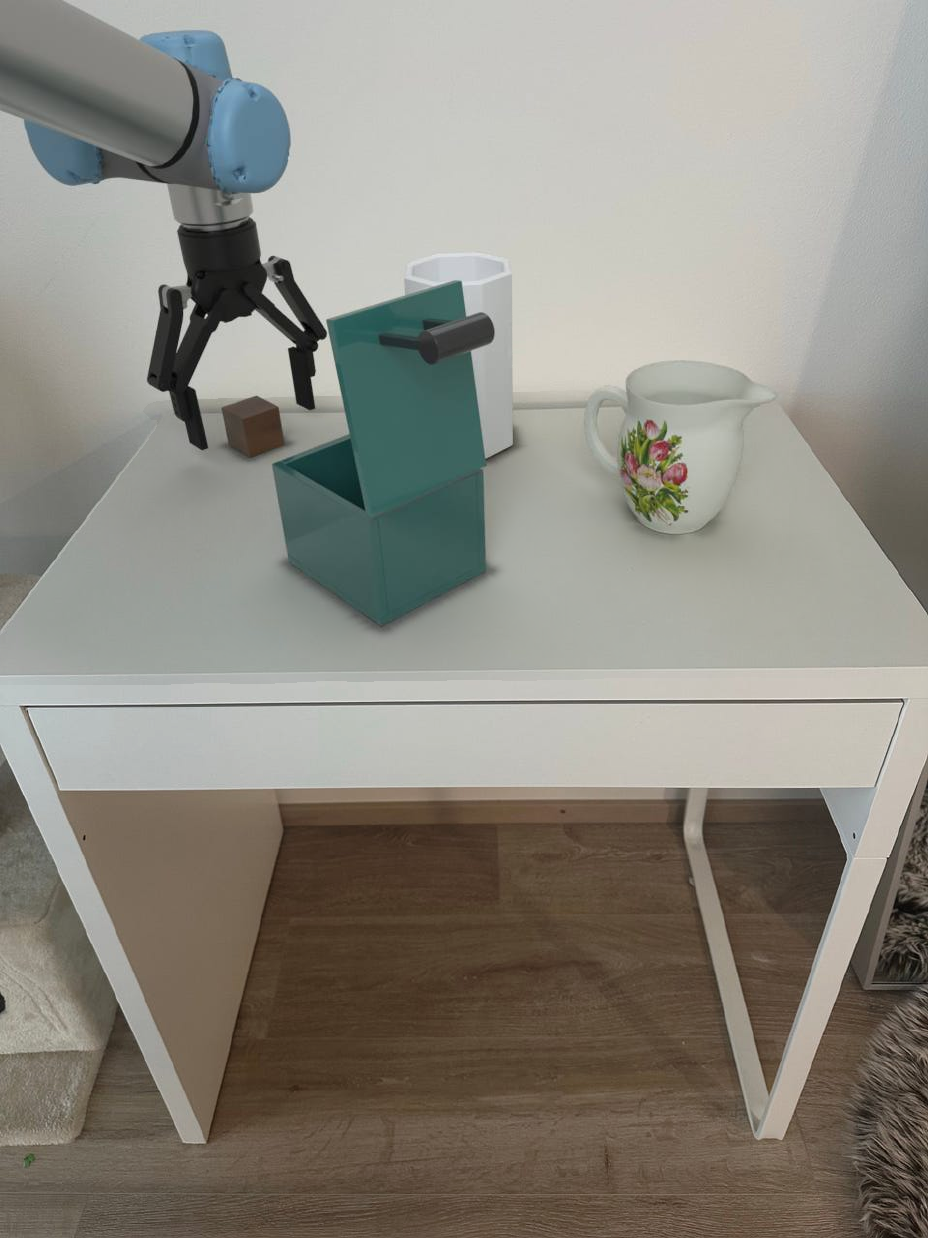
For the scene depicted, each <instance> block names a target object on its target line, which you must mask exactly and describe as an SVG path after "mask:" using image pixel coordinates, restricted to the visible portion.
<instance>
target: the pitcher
mask: <svg viewBox="0 0 928 1238" xmlns="http://www.w3.org/2000/svg"><path fill="white" fill-rule="evenodd" d="M625 390H626V391H625ZM625 390H623V389H622V388H620V387H617V386H615V385H610V384H609V385H604V386H601V387H599V388H597V389H596V390H595V391H594V392H592V393H591V395H590V397H589V398H588V400H587V403H586V405H585V410H584V415H583V418H584V420H583V429H584V436H585V441H586V444H587V446H588V448H589V450H590V452H591V454H592V456H593V457H594V458H595V460H596V462H598V463H599V464H600V465H601V467H603V468H604V469H605V470H606V471H608V472H609V473H610V474H612V475H613V476H615V477H617V478H619V482H620V485H621V489H622V492H623V495H624V498H625V501H626V503H627V505H628V507H629V509H630V510H631V512H632V513H633V515H634V516H635V517H636V518H637V520H638V522H639V523H640V524H641V525H643V526H644V527H646V528H647V529H650V530H652V531H656V532H659V533H663V534H672V535H681V534H682V535H683V534H690V533H693V532H697V531H699V530H701V529H703V528H704V527H705V526H706V525H707V524H708V523H709V522H710V521H711V520H712V519H713V518H714V517H716V516H717V514H719V512H720V511H721V509H722V508H723V506H724V505H725V503H726V502H727V500H728V498H729V496H730V494H731V492H732V490H733V488H734V487H735V486H734V485H735V483H736V482H737V481H736V480H737V478H738V475H739V471H740V469H741V464H742V460H743V453H744V446H745V431H744V424H743V423H744V421H745V420H746V418H747V417H748V416H750V414H751V413H752V412H753V411H754V409H756V408H758V407H760V406H761V405H764V404H769V403H771V402H773V401H774V400H776V399H777V398H778V397H779V394H778V392H777V391H775V390H774V389H773V388H770V387H768V386H765V385H763V384H761V383H758V382H755V381H753V380H752V379H750V377H748V376H747V375H746V374H745V373H744V372H741V371H739V370H738V369H735V368H732V367H729V366H725V365H722V364H717V363H712V362H706V361H698V360H685V359H684V360H682V359H681V360H666V361H665V360H664V361H657V362H652V363H648V364H645V365H642V366H640V367H637V368H636V369H634V370H632V371H631V372H630V373H629V374H628V375H627V377H626V379H625ZM605 401H611V402H614V403H616V404H617V405H618V406H620V407H621V409H622V411H623V412H624V413H625V414H624V417H623V420H622V423H621V426H620V430H619V433H618V440H617V451H616V454H617V457H615V456H613V455H612V453H611V452H610V451H609V450H608V448H607V447H606V446H605V445H604V443H603V441H602V439H601V437H600V434H599V429H598V417H599V411H600V408H601V406H602V405H603V403H604V402H605Z"/></svg>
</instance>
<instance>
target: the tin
mask: <svg viewBox="0 0 928 1238" xmlns="http://www.w3.org/2000/svg"><path fill="white" fill-rule="evenodd" d="M271 467H272V468H271V469H272V475H273V477H274V478H273V480H274V484H275V490H276V496H277V501H278V502H277V503H278V508H279V514H280V518H281V519H280V520H281V524H282V529H283V530H282V531H283V536H284V542H285V548H286V553H287V554H286V555H287V559H288V563H289V564H291V565H293V566H294V567H295V568H297V569H298V570H300V571H301V572H302V573H304V574H305V575H307V576H309V578H311V579H313V580H314V581H315V582H317V583H318V584H319V585H321V586H322V587H324V588H325V589H327V590H328V591H330V592H331V593H333V594H334V595H335V596H336V597H338V598H340V599H341V600H342V601H344V602H345V603H347V604H349V605H350V606H351V607H353V608H354V609H356V610H357V611H358V612H360V613H361V614H363V615H364V616H366V617H367V618H368V619H370V620H371V621H373V622H374V623H376V624H377V625H378V626H380V627H383V626H385V625H387V624H389V623H391V622H393V621H395V620H397V619H398V618H401V617H402V616H404V615H406V614H408V613H410V612H411V611H413V610H416V609H417V608H419V607H420V606H423V605H424V604H426V603H428V602H431V601H432V600H434V599H435V598H437V597H440V596H441V595H444V594H445V593H447V592H449V591H451V590H453V589H455V588H456V587H458V586H460V585H462V584H464V583H465V582H468V581H470V580H472V579H474V578H475V577H477V576H479V575H481V574H482V573H484V572H486V571H487V560H486V559H487V556H486V555H487V554H486V551H487V550H486V518H485V516H486V515H485V514H486V513H485V483H484V481H485V480H484V477H485V476H484V469H483V468H480V469H478V470H476V471H473V472H471V473H469V474H467V475H464V476H462V477H460V478H458V479H456V480H453V481H451V482H449V483H447V484H445V485H442V486H440V487H438V488H436V489H434V490H431V491H429V492H427V493H425V494H423V495H420V496H418V497H416V498H414V499H412V500H409V501H407V502H405V503H403V504H401V505H398V506H396V507H394V508H392V509H390V510H387V511H385V512H383V513H381V514H379V515H376V516H374V517H370V516H367V515H366V511H365V506H364V501H363V497H362V492H361V487H360V482H359V477H358V472H357V468H356V463H355V458H354V453H353V448H352V443H351V439H350V434H349V433H347V434H345V435H342V436H341V437H337V438H335V439H333V440H330V441H327V442H324V443H322V444H320V445H317V446H315V447H312V448H310V449H307V450H304V451H302V452H299V453H296V454H294V455H291V456H288V457H286V458H284V459H281V460H278V461H275V462H273V463H271Z"/></svg>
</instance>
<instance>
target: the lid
mask: <svg viewBox="0 0 928 1238" xmlns="http://www.w3.org/2000/svg"><path fill="white" fill-rule="evenodd" d="M325 322H326V327H327V333H328V337H329V341H330V346H331V350H332V351H331V352H332V356H333V360H334V365H335V370H336V375H337V379H338V380H337V381H338V385H339V390H340V394H341V399H342V405H343V409H344V413H345V419H346V424H347V429H348V434H350V439H351V443H352V448H353V453H354V458H355V463H356V468H357V472H358V477H359V482H360V487H361V492H362V497H363V501H364V506H365V511H366V515H367V516H370V517H374V516H376V515H379V514H381V513H383V512H385V511H387V510H390V509H392V508H394V507H396V506H398V505H401V504H403V503H405V502H407V501H409V500H412V499H414V498H416V497H418V496H420V495H423V494H425V493H427V492H429V491H431V490H434V489H436V488H438V487H440V486H442V485H445V484H447V483H449V482H451V481H453V480H456V479H458V478H460V477H462V476H464V475H467V474H469V473H471V472H473V471H476V470H478V469H483V468H485V467H487V461H486V460H487V459H485V452H484V445H483V437H482V430H481V422H480V415H479V407H478V400H477V392H476V385H475V377H474V370H473V363H472V355H471V351H472V350H475V349H477V348H480V347H483V346H486V345H488V344H490V343H491V342H492V341H493V339H494V335H495V330H494V325H493V322H492V320H491V319H490V317H489V316H488V315H487V314H485V313H483V312H478V313H475V314H472V315H469V316H466V310H465V303H464V295H463V288H462V281H460V280H454V281H450V282H447V283H444V284H441V285H437V286H434V287H431V288H428V289H424V290H421V291H418V292H414V293H411V294H408V295H405V294H404V295H401V296H398V297H395V298H392V299H389V300H388V299H387V300H385V301H383V302H379V303H376V304H372V305H368V306H366V307H362V308H359V309H356V310H353V311H352V310H351V311H349V312H346V313H342V314H339V315H336V316H332V317H329V318H327V319H325Z"/></svg>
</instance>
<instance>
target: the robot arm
mask: <svg viewBox="0 0 928 1238" xmlns="http://www.w3.org/2000/svg"><path fill="white" fill-rule="evenodd" d="M0 111H1V112H4V113H6V114H9V115H11V116H14V117H17V118H20V119H22V120H23V125H24V129H25V132H26V135H27V138H28V143H29V145H30V148H31V151H32V152H33V154H34V156H35V157H36V158H35V159H37V161H38V163H39V164H40V166H41V167H42V168H43V170H44V171H45V172H46V173H47V174H48V175H49V176H50V177H52V178H53V179H54V180H56V181H57V182H58V183H60V184H63V185H64V186H65V185H66V186H70V187H75V186H80V185H81V186H82V185H87V184H92V185H98V184H100V182H102V181H104V180H109V179H118V178H119V179H129V180H136V181H144V182H152V183H158V184H166V186H167V190H168V196H169V200H170V205H171V211H172V214H173V220H174V221H176V222H177V223H178V224H180V225H179V226H178V229H177V230H176V234H177V238H178V243H179V246H180V251H181V257H182V261H183V265H184V268H185V270H186V277H187V278H186V282H185V283H186V284H184V285H176V286H175V285H174V286H170V285H168V284H165V283H164V284H163V283H162V284H160V285H159V286H158V291H157V293H158V301H159V316H158V320H157V325H156V330H155V335H154V341H153V346H152V350H151V356H150V361H149V366H148V370H147V371H148V372H147V376H146V382H147V384H148V385H149V386H151V387H153V388H154V389H156V390H158V391H160V392H162V393H165V392H168V393H169V396H170V397H169V398H170V401H171V405H172V409H173V413H174V415H175V417H176V418H177V419H178V420H180V421H182V422H184V425H185V430H186V433H187V437H188V442H189V444H190V445H192V446H194V447H195V448H197V449H199V450H200V451H205V450H208V449H209V445H208V439H207V436H206V432H205V431H206V430H205V427H204V422H203V417H202V414H201V413H202V412H201V409H200V405H199V400H198V399H199V398H198V396H197V391H196V389H195V388H194V387H191V386H189V384H190V382H191V380H192V378H193V376H194V373H195V372H196V369H197V367H198V365H199V363H200V361H201V358H202V356H203V354H204V352H205V349H206V347H207V345H208V343H209V340H210V338H211V336H212V334H213V333H214V332H216V331H217V330H218V327H219V325H220V323H225V324H227V323H230V322H233V321H235V320H236V319H238V318H247V317H251V316H252V315H253V312H254V311H255V312H257V313H258V314H259V315H260V316H262V317H263V318H264V319H265V320H266V321H267V322H269V324H271V325H272V326H273V327H274V328H276V329H277V330H278V331H279V332H280V333H281V334H282V335H283V336H284V337H286V338H287V339H288V340H289V341H291V343H292V344H294V345H295V346H291V347H288V348H287V352H288V357H289V358H288V360H289V365H290V371H291V377H292V383H293V390H294V397H295V403H296V405H298V406H300V407H301V408H304V409H306V410H307V411H312V410H315V409H316V404H315V397H314V390H313V381H312V378H313V377H316V373H317V369H316V364H315V355H314V353H315V352H317V351H318V350H319V343H318V342H319V341H323V340H325V339H326V338H327V336H328V330H326V328H325V326H324V325H323V323H322V322H321V320H320V318H319V317H318V315H317V313H316V312H315V310H314V309H313V307H312V306H311V304H310V303H309V300H308V299H307V298H306V296H305V295H304V293H303V292H302V289H301V288H300V287H299V285H298V283H297V282H296V280H295V277H294V273H293V269H292V265H291V262H290V261H289V260H288V259H285V258H283V257H279V256H276V255H270V256H269V257H268V259H267V262H265V263H262V261H261V256H262V251H261V245H260V239H259V233H258V227H257V222H256V221H255V220H254V219H253V217H251V216H252V215H253V213H254V205H253V200H252V199H253V197H252V194H261V193H264V192H266V191H269V190H271V188H273V187H275V185H277V184H278V182H279V181H280V180H281V178H282V177H283V175H284V173H285V171H286V169H287V167H288V163H289V157H290V149H291V146H292V145H291V143H292V139H291V137H292V136H291V129H290V124H289V120H288V117H287V114H286V112H285V109H284V107H283V105H282V103H281V101H279V99H278V97H277V96H275V94H274V93H273V92H272V91H271V90H270V89H269V88H267V87H266V86H264V85H262V84H259V83H257V82H250V81H246V80H245V81H244V80H243V79H240V78H238V77H236V78H235V77H233V74H232V70H231V66H230V61H229V56H228V52H227V49H226V45H225V42H224V40H223V38H222V37H221V36H220V35H219V34H218V33H216V32H214V31H212V30H206V29H205V30H204V29H188V30H187V29H185V30H171V31H169V30H168V31H162V32H160V31H159V32H154V33H153V32H152V33H150V34H145V35H142V36H141V37H140V38H137V37H134V36H133V35H130V34H129V33H127V32H125V31H123V30H122V29H119V28H117V27H116V26H114V25H111V24H109V23H108V22H105V21H104V20H101V19H100V18H98V17H96V16H94V15H93V14H90V13H88V12H86V11H84V10H83V9H80V8H79V7H77V6H75V5H73V4H72V3H69V2H68V1H65V0H0ZM267 280H268V281H270V282H272V283H273V284H274V286H275V288H276V289H277V291H278V292H279V293H280V295H281V296H282V298H283V299H284V301H285V302H286V305H288V308H290V310H291V312H292V314H293V315H294V316H295V318H296V319H297V321H298V323H299V324H300V326H302V328H300V327H299V326H298V325H297V324H296V323H294V322H293V321H292V320H291V319H290V318H289V317H288V316H287V315H286V314H284V312H282V311H281V310H280V309H279V308H278V307H277V306H276V304H275V303H274V302H273V301H271V300H270V298H268V297H267V296H266V295H265V294H264V293H263V291H264V288H265V285H266V283H267ZM190 299H191V301H193V302H194V306H193V308H192V311H191V312H190V315H189V324H188V326H187V328H186V330H185V333H184V335H183V338H182V339H181V341H180V337H181V332H182V327H183V321H184V310H186V309H187V308H188V301H189V300H190ZM206 315H207V316H206ZM302 329H303V330H302ZM179 342H180V344H179Z"/></svg>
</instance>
